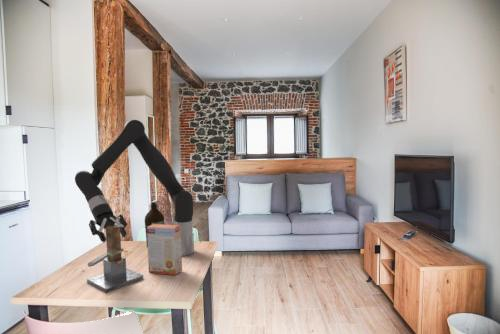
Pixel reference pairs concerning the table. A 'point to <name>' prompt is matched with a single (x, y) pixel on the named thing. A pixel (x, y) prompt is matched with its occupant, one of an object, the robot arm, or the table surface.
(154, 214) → the olive oil
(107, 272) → the stand
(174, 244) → the cracker box
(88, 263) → the adjustable wrench
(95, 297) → the table surface
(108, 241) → the post
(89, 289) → the table surface
